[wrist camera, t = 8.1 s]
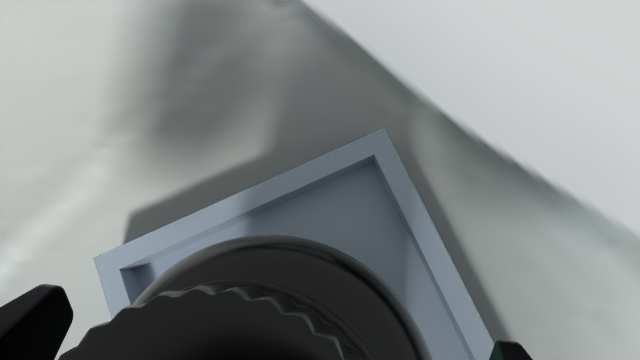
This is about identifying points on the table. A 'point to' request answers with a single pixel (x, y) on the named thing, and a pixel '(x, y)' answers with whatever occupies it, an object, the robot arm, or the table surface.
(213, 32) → the table surface
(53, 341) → the robot arm
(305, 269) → the supplement bottle
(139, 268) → the tray
